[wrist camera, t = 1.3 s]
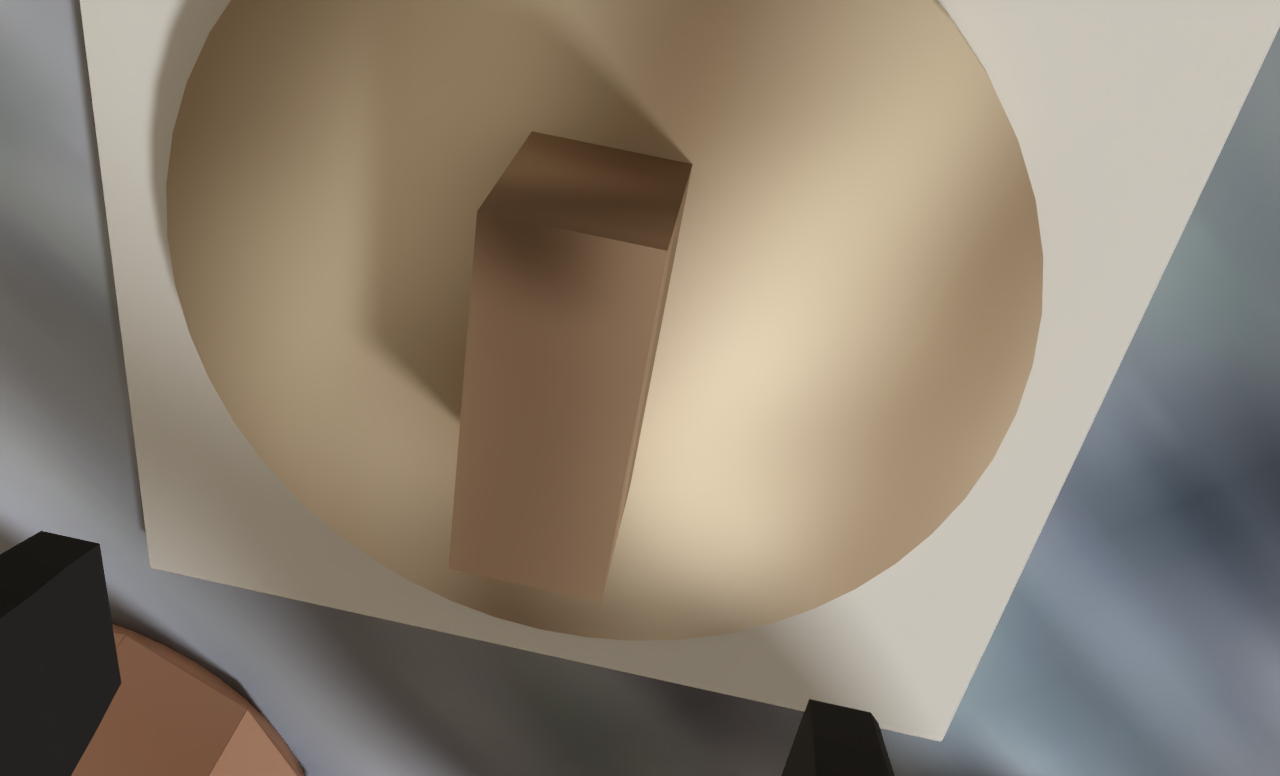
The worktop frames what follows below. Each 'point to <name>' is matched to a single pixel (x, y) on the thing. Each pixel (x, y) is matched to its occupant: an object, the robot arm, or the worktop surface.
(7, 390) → the worktop surface
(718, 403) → the lid
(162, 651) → the bowl
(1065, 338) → the mat
